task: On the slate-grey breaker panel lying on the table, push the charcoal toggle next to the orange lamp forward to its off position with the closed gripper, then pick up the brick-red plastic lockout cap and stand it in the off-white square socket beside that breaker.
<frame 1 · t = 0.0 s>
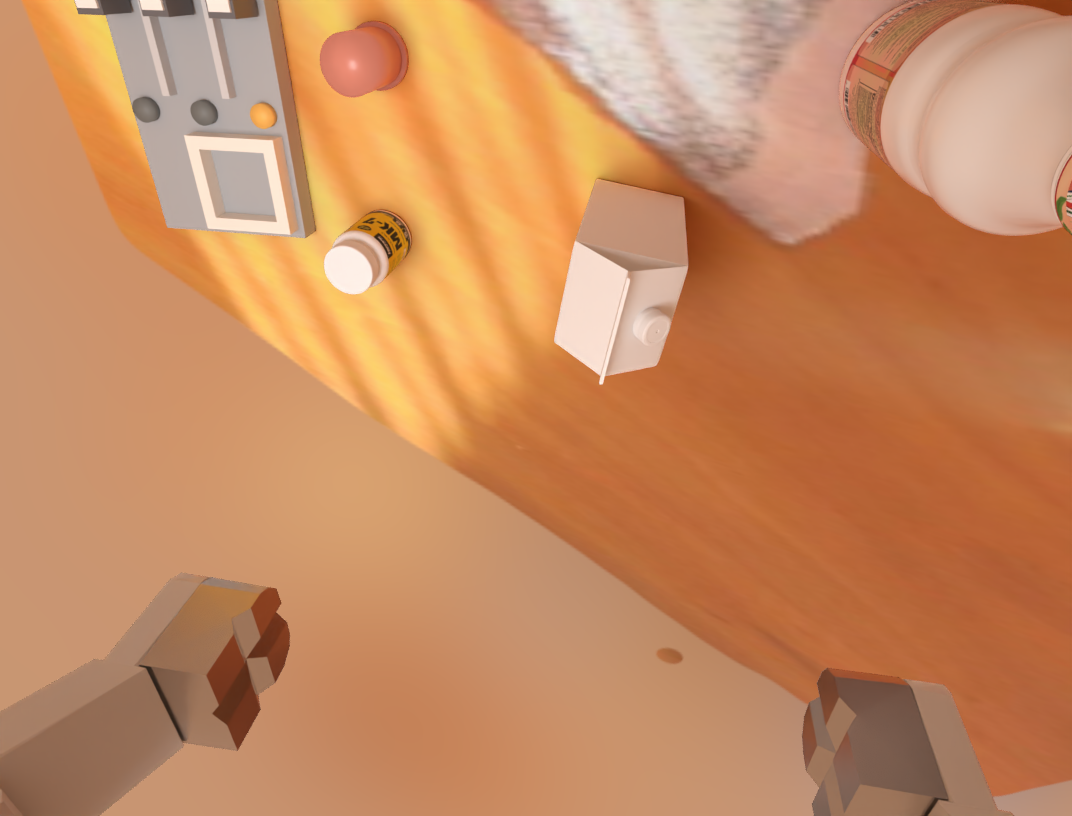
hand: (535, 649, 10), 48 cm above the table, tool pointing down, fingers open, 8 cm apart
lockout cap: (379, 56, 51), on the table
milk carton: (629, 229, 55), on the table
panel: (214, 77, 54), on the table
supplement bottle: (386, 234, 59), on the table
fruit juice: (908, 76, 46), on the table
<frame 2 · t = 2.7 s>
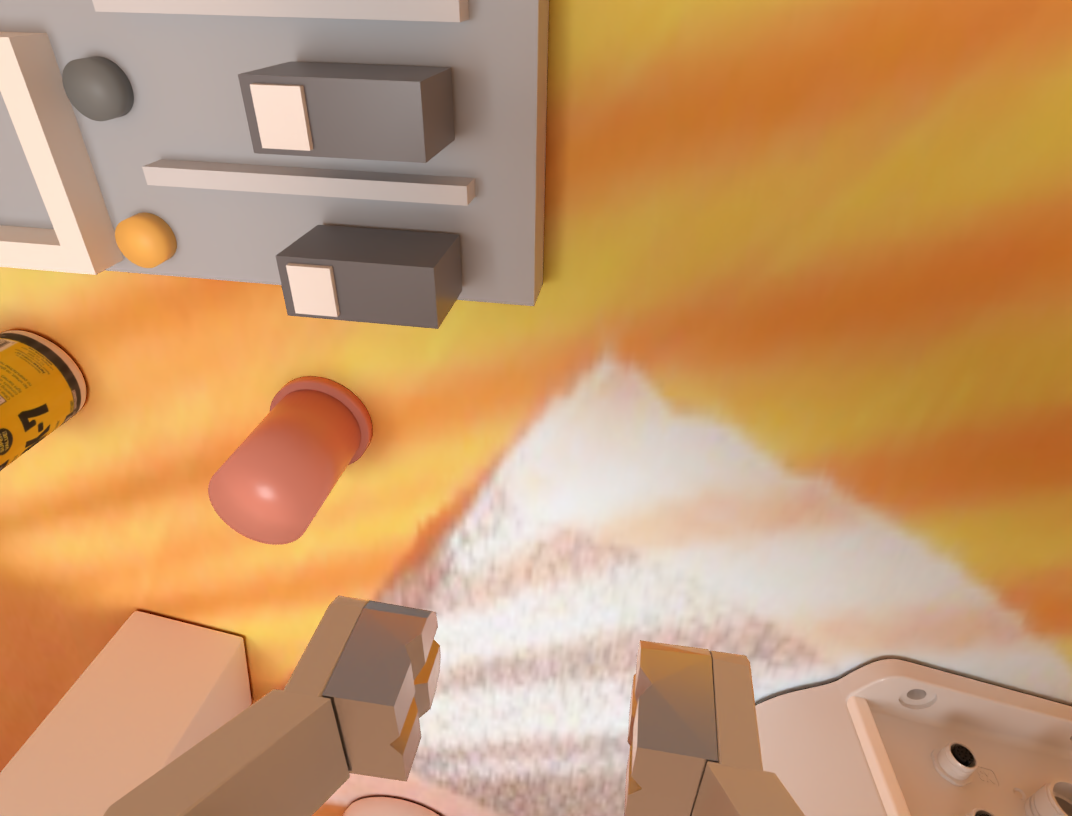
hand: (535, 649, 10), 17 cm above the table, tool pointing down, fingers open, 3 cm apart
lockout cap: (324, 419, 31), on the table
breaker 1: (374, 275, 22), point 4 cm above the table, slide at 0.0 cm
milk carton: (199, 653, 43), on the table
breaker 2: (353, 110, 19), point 4 cm above the table, slide at 0.0 cm
panel: (204, 81, 23), on the table
supplement bottle: (46, 370, 32), on the table
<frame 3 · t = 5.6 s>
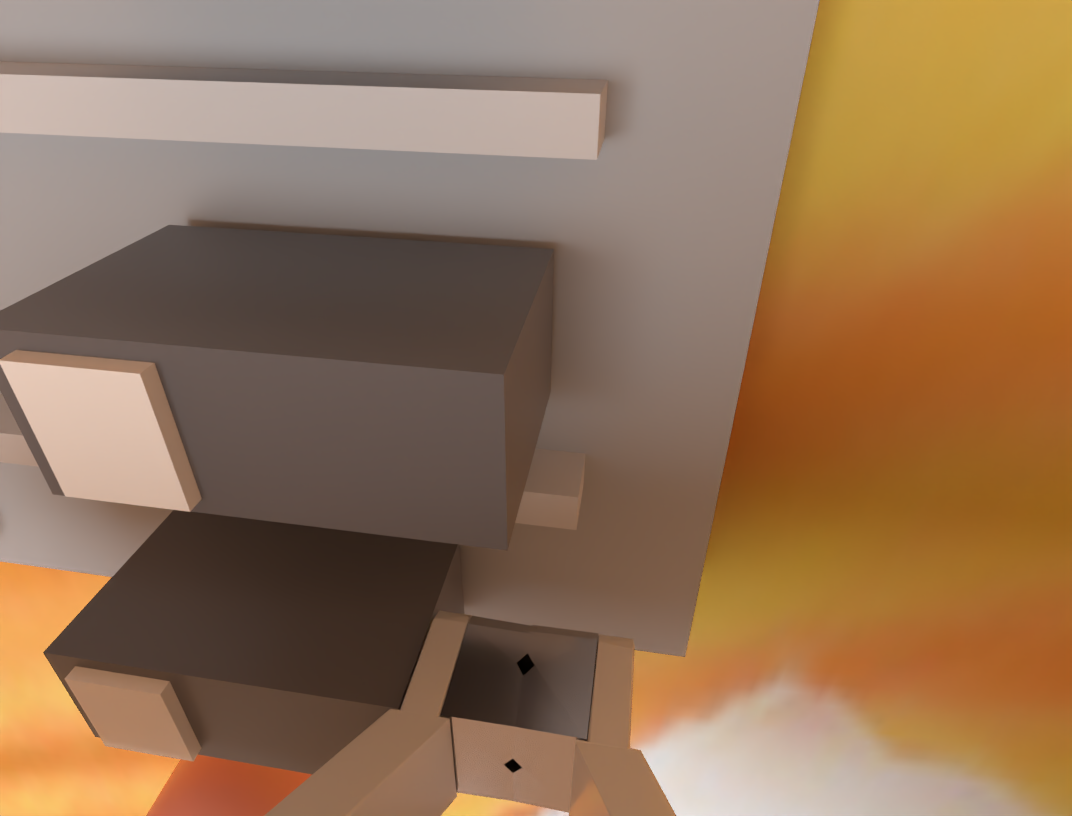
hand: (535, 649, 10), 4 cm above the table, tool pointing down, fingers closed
lockout cap: (292, 713, 19), on the table
breaker 1: (280, 640, 10), point 4 cm above the table, slide at 1.5 cm, touching gripper
breaker 2: (311, 370, 8), point 4 cm above the table, slide at 0.0 cm
panel: (29, 225, 12), on the table
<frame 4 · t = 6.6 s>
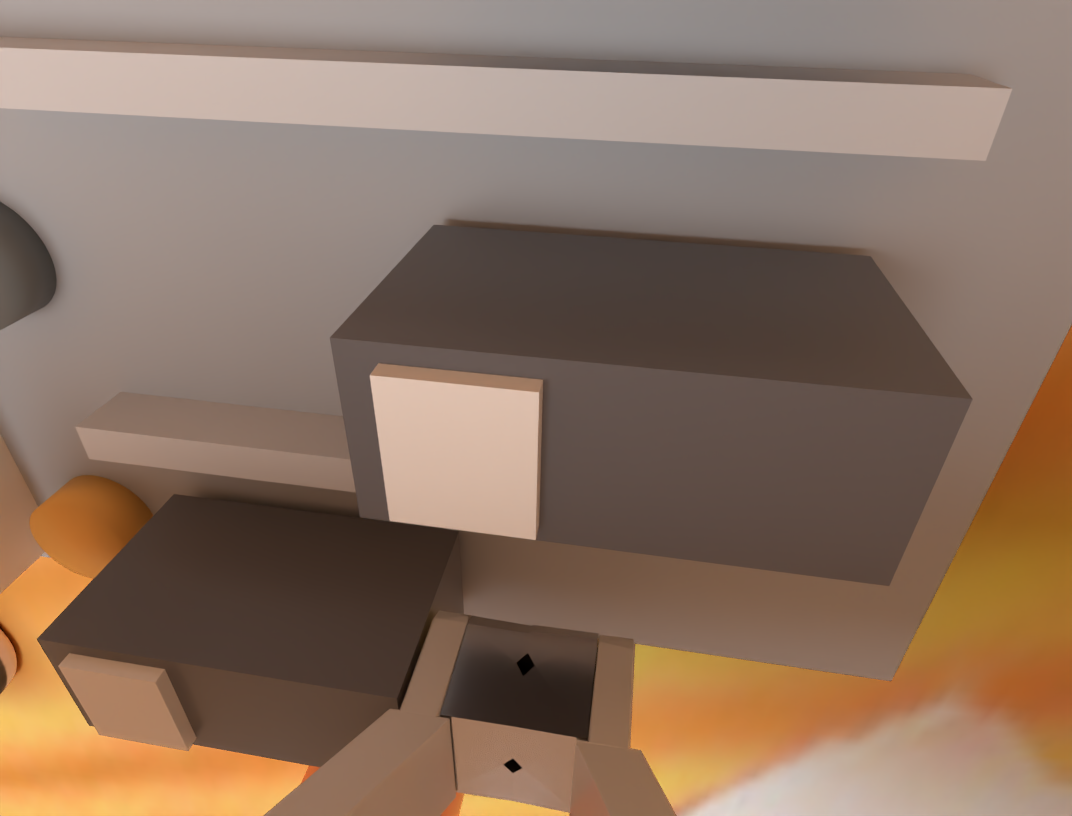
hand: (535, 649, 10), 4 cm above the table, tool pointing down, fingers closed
lockout cap: (406, 726, 19), on the table
breaker 1: (277, 630, 10), point 4 cm above the table, slide at 4.9 cm, touching gripper
breaker 2: (628, 384, 7), point 4 cm above the table, slide at 0.0 cm
panel: (214, 221, 11), on the table
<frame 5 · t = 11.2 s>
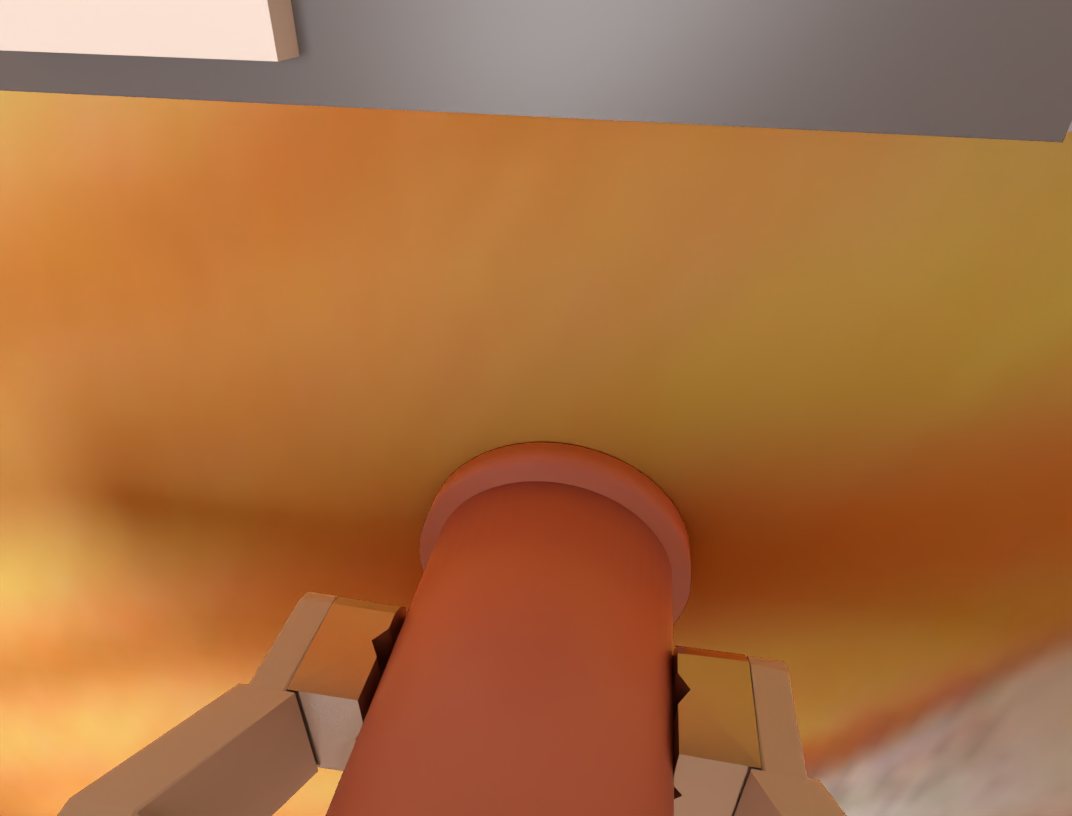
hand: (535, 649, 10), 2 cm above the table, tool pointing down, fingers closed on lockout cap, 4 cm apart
lockout cap: (556, 548, 12), on the table, touching gripper
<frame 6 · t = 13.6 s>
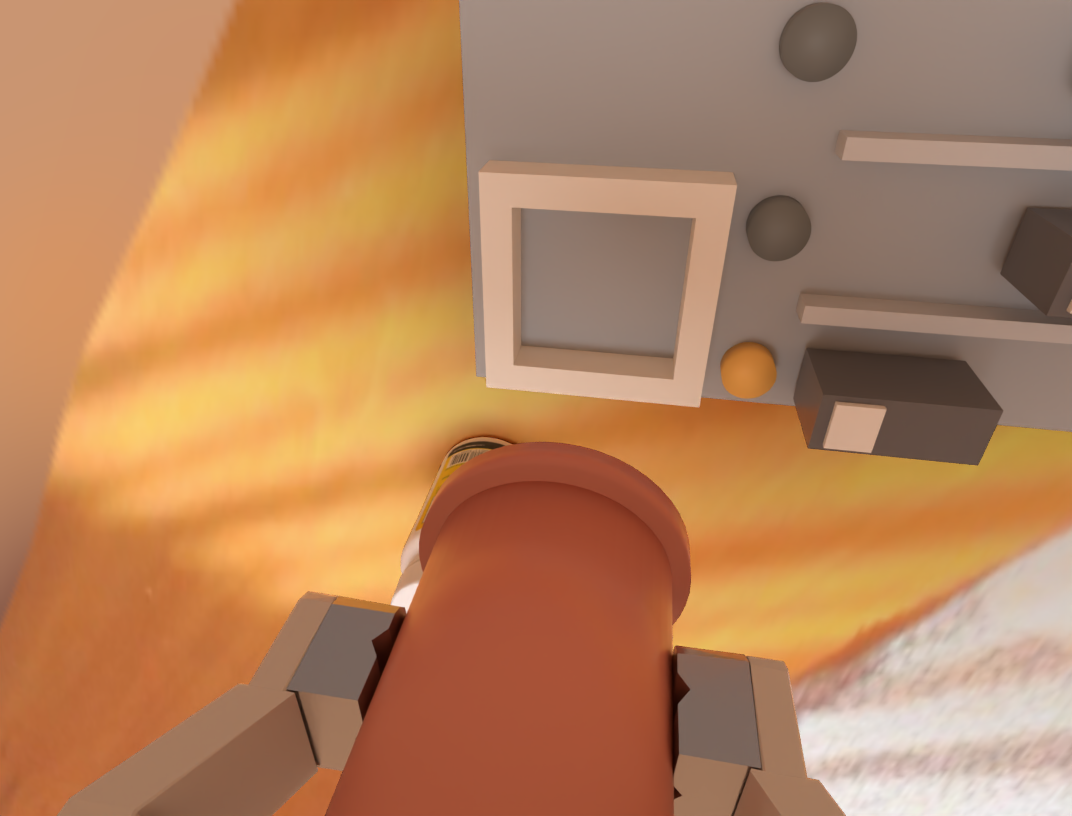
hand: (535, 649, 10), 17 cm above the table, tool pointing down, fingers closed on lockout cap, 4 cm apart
lockout cap: (555, 548, 12), point 15 cm above the table, touching gripper
breaker 1: (888, 405, 21), point 4 cm above the table, slide at 5.0 cm
panel: (836, 209, 22), on the table
supplement bottle: (493, 473, 31), on the table
when the fingers open (5 cm above the table, at t = 16.2 s): lockout cap stays where it is, resting on panel.
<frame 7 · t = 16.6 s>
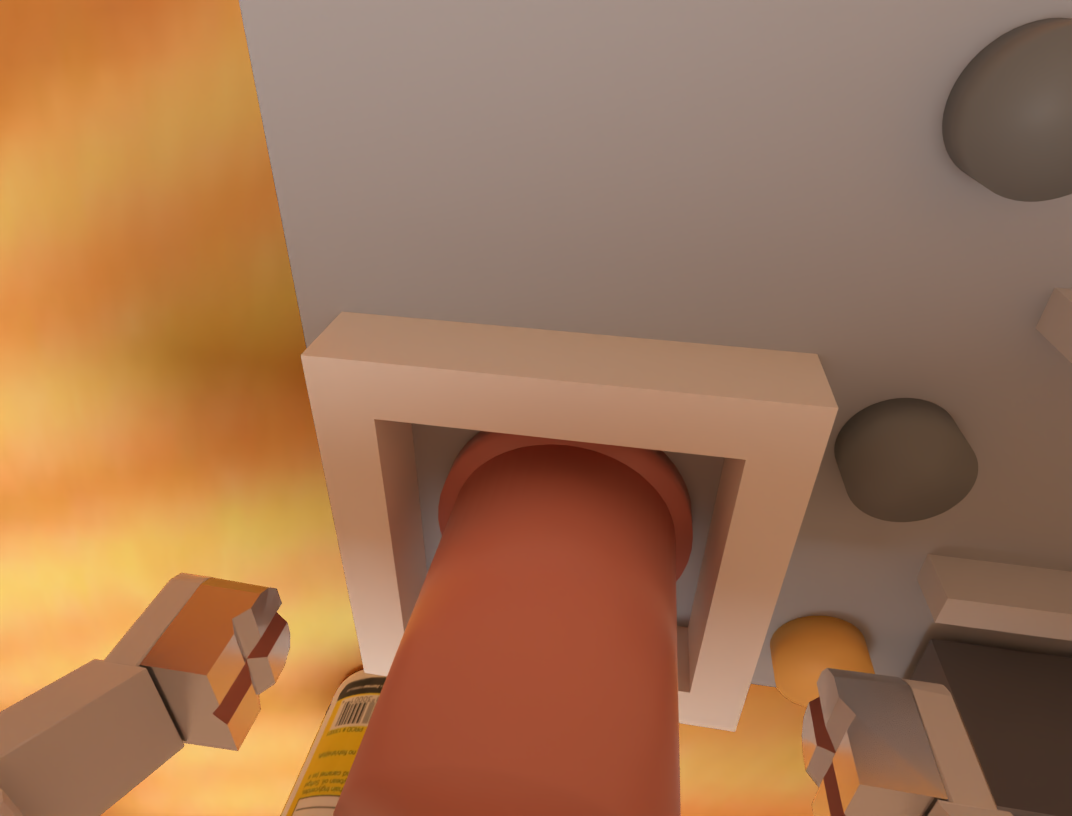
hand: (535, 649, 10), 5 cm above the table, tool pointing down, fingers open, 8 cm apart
lockout cap: (565, 511, 13), point 2 cm above the table, touching panel
panel: (992, 393, 12), on the table
supplement bottle: (413, 703, 21), on the table
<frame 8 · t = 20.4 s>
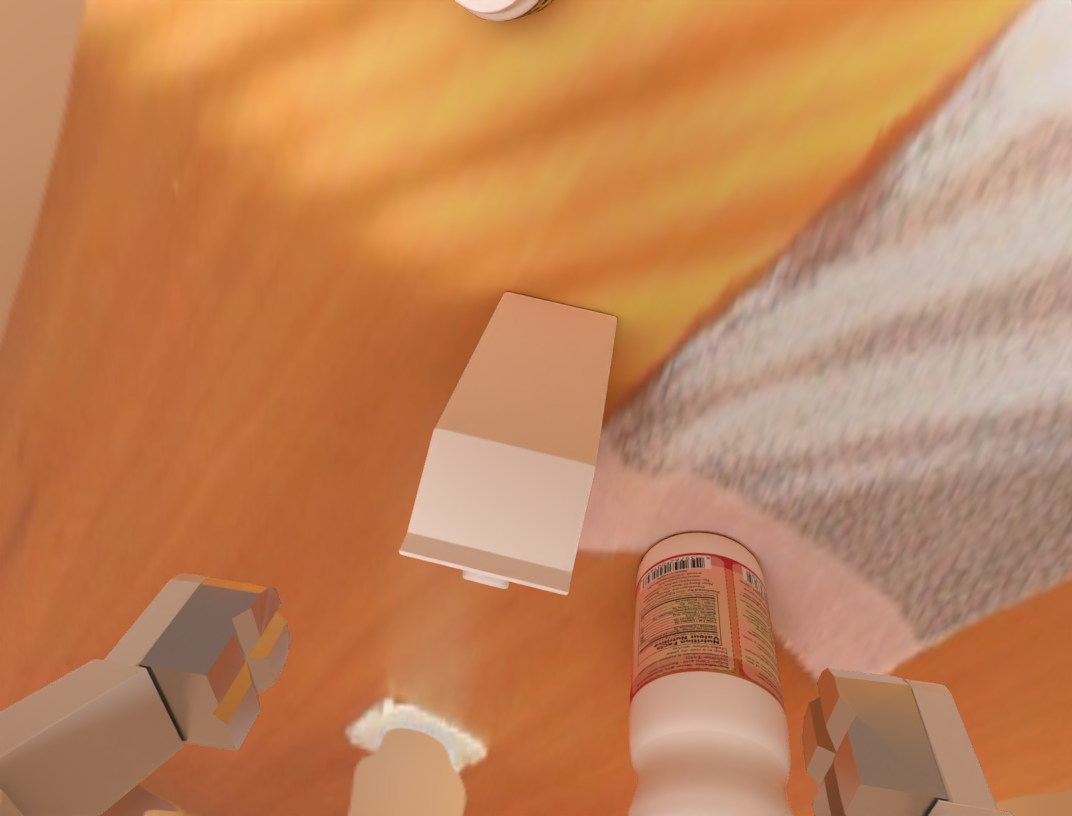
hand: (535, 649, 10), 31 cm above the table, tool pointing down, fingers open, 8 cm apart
milk carton: (551, 350, 43), on the table
fruit juice: (698, 572, 51), on the table
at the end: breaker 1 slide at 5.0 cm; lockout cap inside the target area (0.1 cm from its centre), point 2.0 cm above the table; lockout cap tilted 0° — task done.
